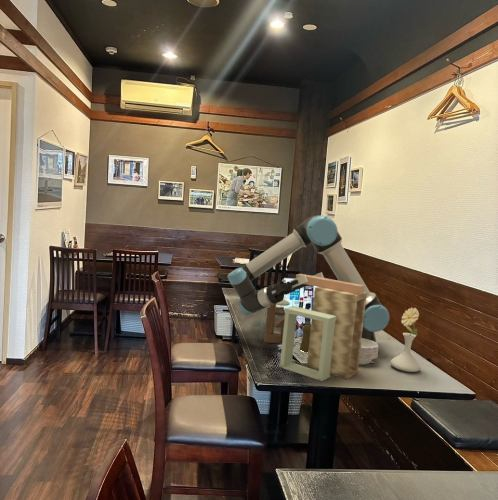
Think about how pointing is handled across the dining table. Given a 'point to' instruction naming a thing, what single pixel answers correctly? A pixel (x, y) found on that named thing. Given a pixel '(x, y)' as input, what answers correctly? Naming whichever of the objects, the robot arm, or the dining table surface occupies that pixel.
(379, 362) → the dining table surface
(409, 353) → the flower in vase
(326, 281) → the salmon orange bar
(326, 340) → the pale green rectangular frame
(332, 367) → the birch stand
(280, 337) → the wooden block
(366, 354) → the paper bowls
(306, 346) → the cork
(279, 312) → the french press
